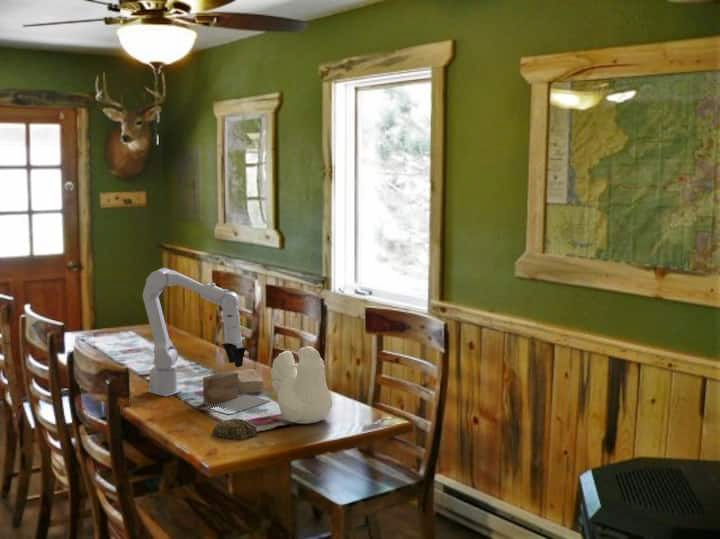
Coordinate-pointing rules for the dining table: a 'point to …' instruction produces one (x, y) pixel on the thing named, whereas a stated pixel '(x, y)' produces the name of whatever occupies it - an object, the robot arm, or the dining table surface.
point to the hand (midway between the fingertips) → (235, 364)
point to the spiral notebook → (241, 403)
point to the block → (220, 387)
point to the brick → (249, 381)
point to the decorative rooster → (301, 386)
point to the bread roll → (234, 429)
